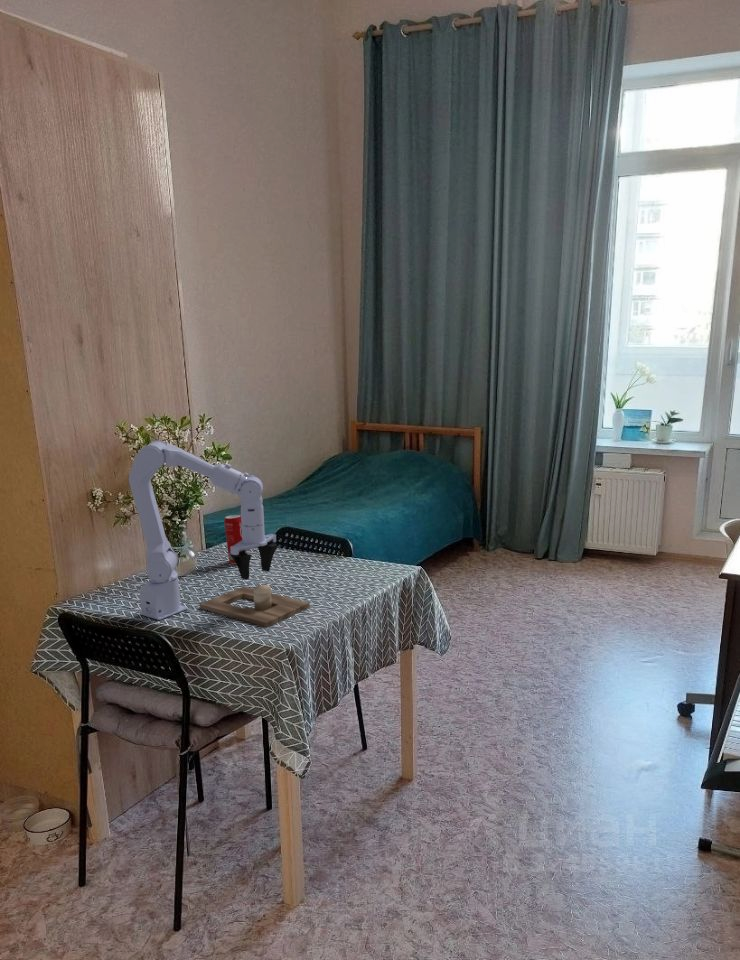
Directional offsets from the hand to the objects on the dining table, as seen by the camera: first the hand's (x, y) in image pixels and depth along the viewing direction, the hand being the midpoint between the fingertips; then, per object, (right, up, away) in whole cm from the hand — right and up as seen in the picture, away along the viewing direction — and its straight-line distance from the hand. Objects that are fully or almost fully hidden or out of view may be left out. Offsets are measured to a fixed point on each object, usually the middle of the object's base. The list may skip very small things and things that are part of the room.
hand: (255, 574), depth 191 cm
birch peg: (+2, -9, -1) cm, 9 cm away
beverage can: (-12, -1, +41) cm, 42 cm away
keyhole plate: (0, -9, +1) cm, 9 cm away
